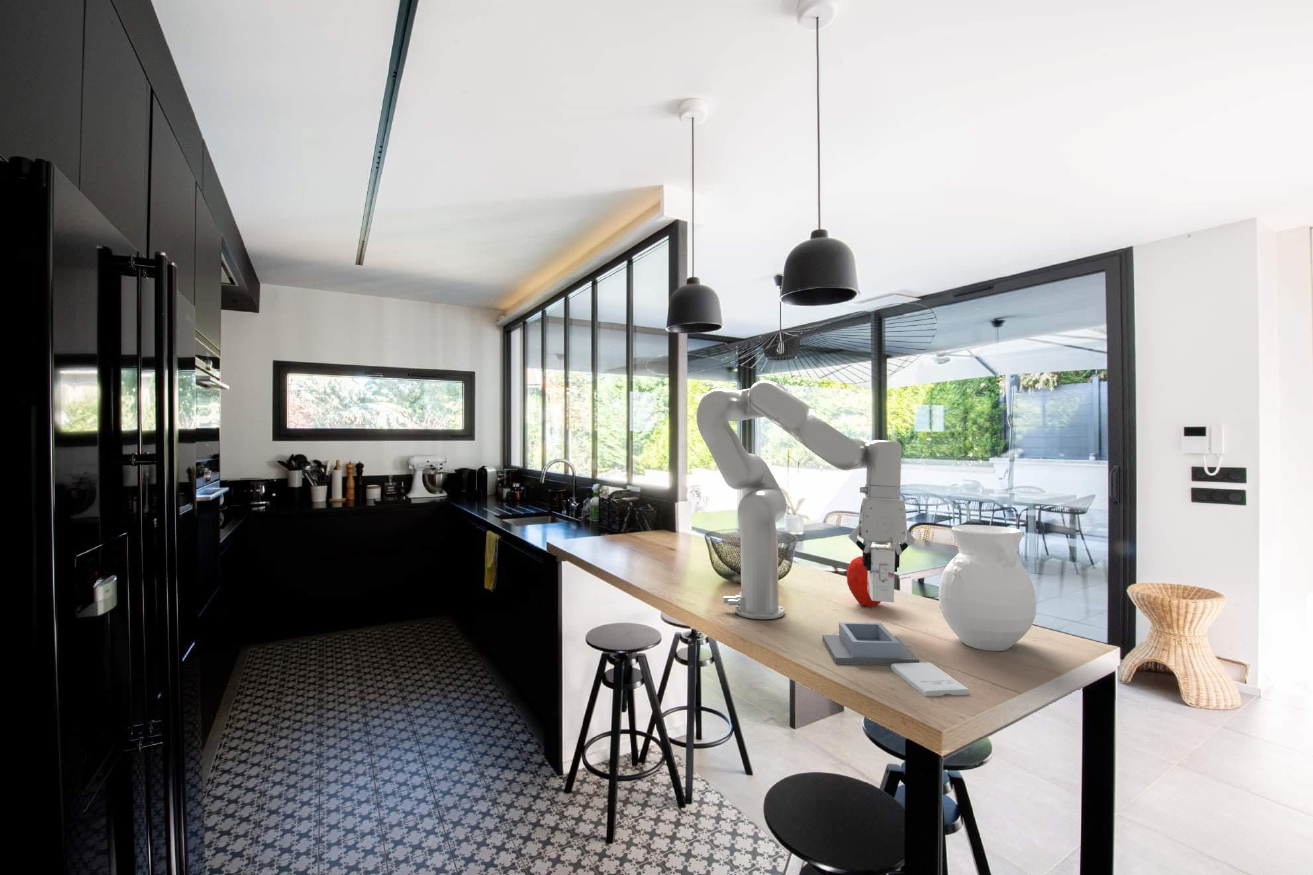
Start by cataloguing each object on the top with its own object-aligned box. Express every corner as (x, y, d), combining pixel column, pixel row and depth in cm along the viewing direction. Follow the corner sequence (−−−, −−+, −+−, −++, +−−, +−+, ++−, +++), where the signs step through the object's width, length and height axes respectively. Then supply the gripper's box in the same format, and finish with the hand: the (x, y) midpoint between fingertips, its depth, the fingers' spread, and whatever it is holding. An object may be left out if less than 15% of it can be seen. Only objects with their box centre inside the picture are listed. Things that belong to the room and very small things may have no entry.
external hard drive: (931, 670, 115) (970, 697, 102) (890, 671, 114) (924, 699, 102) (931, 662, 115) (970, 688, 102) (890, 663, 114) (924, 689, 102)
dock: (835, 663, 117) (835, 642, 117) (822, 640, 131) (822, 621, 131) (919, 665, 115) (919, 644, 116) (896, 641, 129) (896, 622, 129)
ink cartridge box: (865, 591, 143) (867, 530, 143) (887, 593, 142) (889, 532, 142) (871, 601, 135) (873, 536, 135) (894, 602, 134) (896, 538, 134)
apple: (900, 611, 153) (900, 559, 153) (855, 611, 153) (854, 560, 153) (883, 599, 164) (882, 551, 165) (841, 599, 165) (840, 551, 165)
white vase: (1058, 657, 120) (1057, 533, 120) (971, 660, 118) (969, 535, 119) (999, 628, 138) (997, 521, 138) (923, 630, 137) (921, 523, 137)
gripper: (849, 493, 135) (846, 571, 135) (926, 495, 134) (924, 575, 134) (841, 490, 143) (839, 564, 143) (915, 492, 141) (912, 568, 141)
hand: (880, 569), depth 138 cm, fingers closed on ink cartridge box, 5 cm apart
